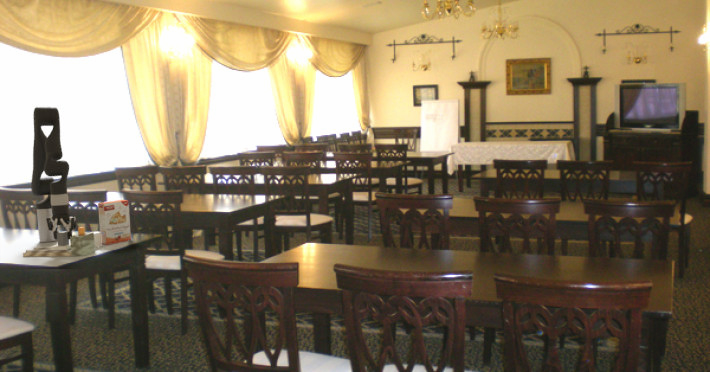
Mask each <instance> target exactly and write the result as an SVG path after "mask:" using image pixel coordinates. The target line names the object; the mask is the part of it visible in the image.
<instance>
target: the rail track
mask: <svg viewBox="0 0 710 372" xmlns="http://www.w3.org/2000/svg"><path fill="white" fill-rule="evenodd" d="M69 243H71V248H70V249H68V250H50V247H51V246H42V247H41V246H40V247H39V246H37V247H36V246H35V247H33V249H25V252H22V257H85V256H87V255H90V254H92V253H94V252H95V251H96V247H95V244H94V233H89V232H85V235H79V233H78V234H74V235H72V236H71V237H70V239H69Z"/></svg>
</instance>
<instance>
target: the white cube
mask: <svg viewBox="0 0 710 372" xmlns="http://www.w3.org/2000/svg"><path fill="white" fill-rule="evenodd" d="M88 233H94V244H95V248H100V247H102V244H101V232H100V230H99V231H89V232H88Z"/></svg>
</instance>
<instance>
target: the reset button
mask: <svg viewBox="0 0 710 372" xmlns="http://www.w3.org/2000/svg"><path fill="white" fill-rule="evenodd" d="M77 232H78V234H79V235H85V233H86V229H85V226H81V227H80V226H79V227H78V228H77Z"/></svg>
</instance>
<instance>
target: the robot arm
mask: <svg viewBox="0 0 710 372" xmlns="http://www.w3.org/2000/svg"><path fill="white" fill-rule="evenodd" d="M42 127H52V129H51V131H50V133H49V135H48V136H47V135H46V134H45V133H44V131H43V129H42ZM61 142H62V141H61V121H60V112H59V109H58V107H56V106H36V107H35V108H34V109H33V147H32V174H31V175H32V176H31V185H30V188H31V193H32V195H34V196H36V197H38V196H47V197H46V198H44V199H43V200H40V201H39V202H37V203H36V215H37V216H36V217H37V224H38V225H37V226H38V227H37V228H38V236H39V237H38V238H39V242H40V243H51V242H56V241H58V240H57V233H59V232H60V226H63V227H64V228H65V230H66V231H68V232H67V237H68V239H69V240H70V237H71V236H73V230H76V228H77V216H74V217H73V216H71V215H70V201H69V195H68V186H67V185H68V184H67V183H68V176H69V172H70V164H69V162H68V161H66V160H63V159H62V158H63V155H64V153H63V150H62V145H61V144H62V143H61ZM43 173H44V175H46V176H45V177H44V176H43V177H42V174H43ZM53 177H60V179H58V180H54V178H53Z"/></svg>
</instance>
